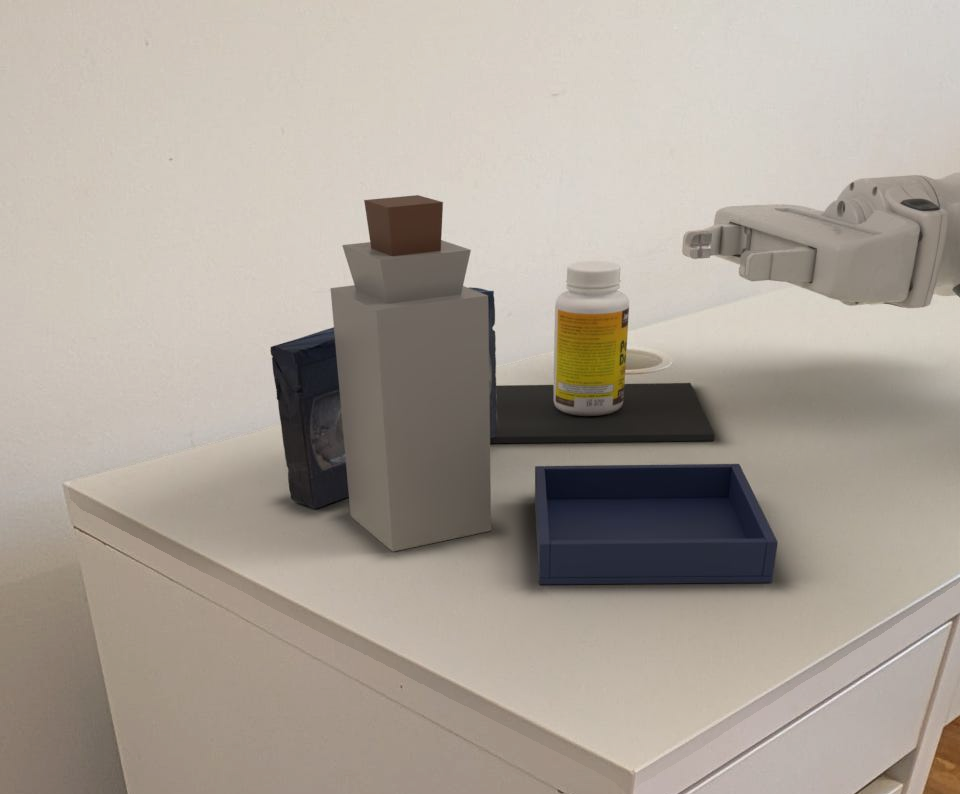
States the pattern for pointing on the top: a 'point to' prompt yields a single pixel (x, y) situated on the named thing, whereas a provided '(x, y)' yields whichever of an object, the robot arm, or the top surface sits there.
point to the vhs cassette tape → (328, 413)
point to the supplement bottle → (590, 340)
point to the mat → (602, 416)
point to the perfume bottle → (413, 380)
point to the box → (650, 525)
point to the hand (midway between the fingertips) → (713, 255)
